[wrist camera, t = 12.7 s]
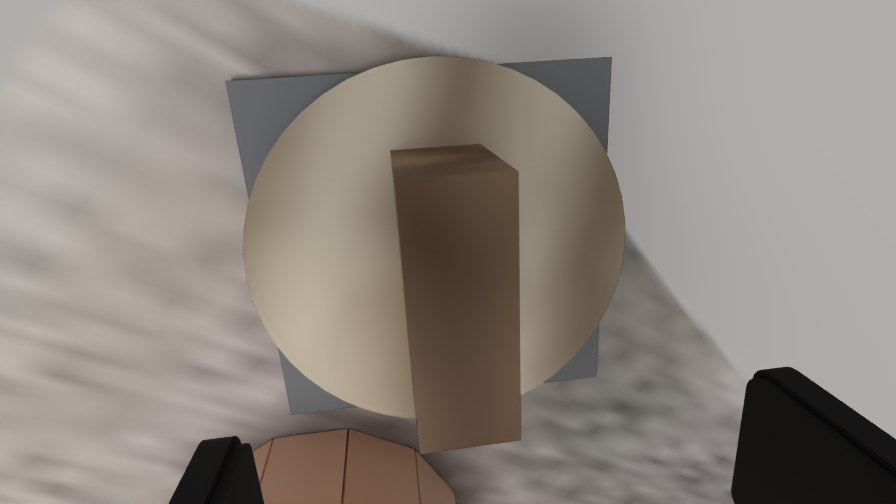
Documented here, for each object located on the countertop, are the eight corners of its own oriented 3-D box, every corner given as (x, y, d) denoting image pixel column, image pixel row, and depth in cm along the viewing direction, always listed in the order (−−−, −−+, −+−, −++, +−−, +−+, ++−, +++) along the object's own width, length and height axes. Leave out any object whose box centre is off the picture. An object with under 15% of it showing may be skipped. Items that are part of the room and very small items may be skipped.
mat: (604, 57, 18) (611, 56, 18) (590, 368, 23) (596, 376, 22) (230, 80, 17) (225, 81, 16) (293, 405, 22) (291, 414, 21)
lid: (621, 46, 18) (739, 34, 12) (602, 380, 22) (681, 488, 17) (215, 69, 16) (125, 69, 11) (285, 420, 21) (249, 553, 15)
